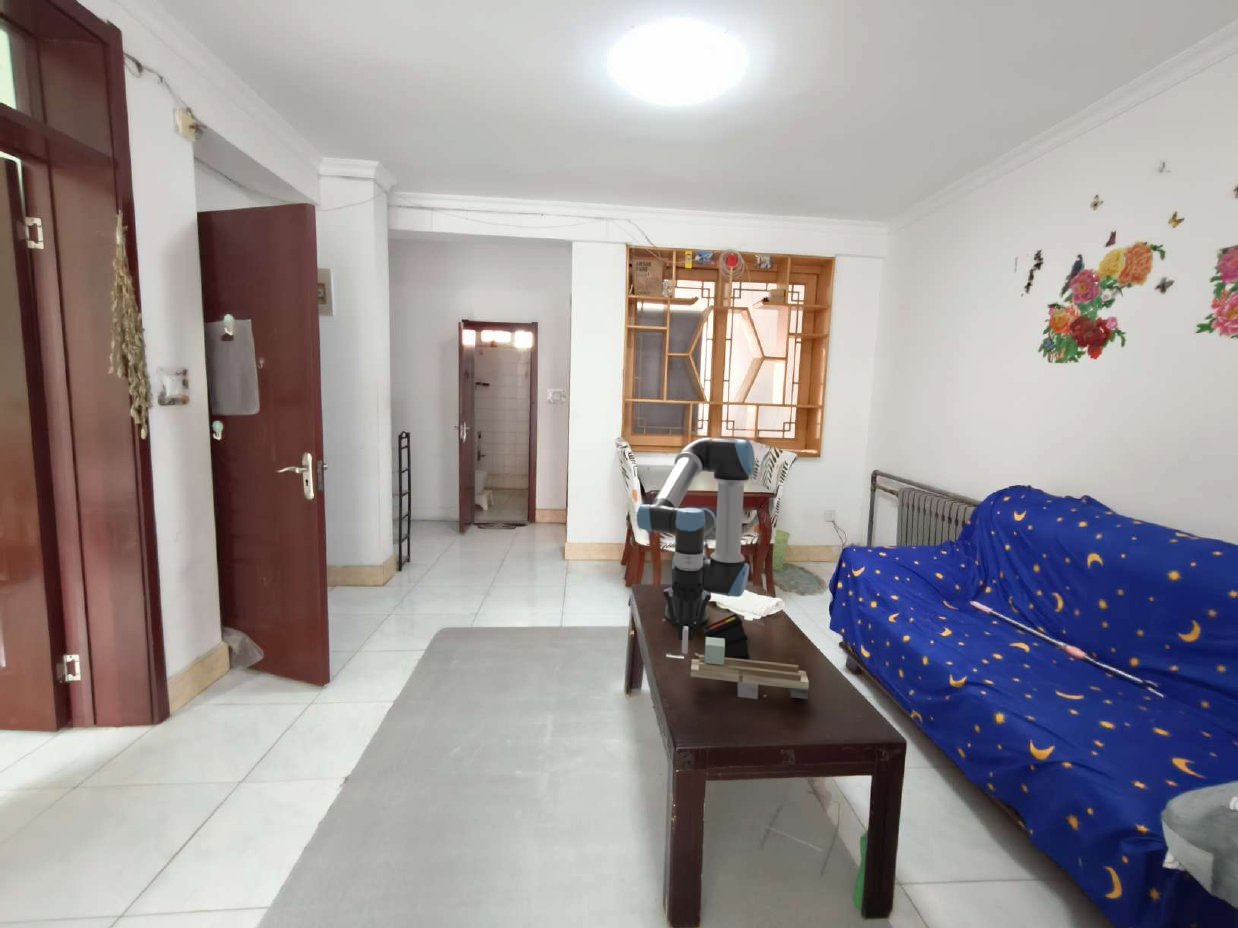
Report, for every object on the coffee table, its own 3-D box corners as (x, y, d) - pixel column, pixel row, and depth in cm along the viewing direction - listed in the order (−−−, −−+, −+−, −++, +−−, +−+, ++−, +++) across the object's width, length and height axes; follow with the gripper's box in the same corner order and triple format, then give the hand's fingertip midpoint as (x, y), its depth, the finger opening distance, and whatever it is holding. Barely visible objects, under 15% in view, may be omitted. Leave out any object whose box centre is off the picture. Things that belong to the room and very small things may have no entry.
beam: (691, 679, 151) (692, 653, 150) (803, 692, 145) (805, 665, 144) (689, 690, 144) (691, 663, 143) (807, 705, 139) (809, 676, 138)
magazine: (759, 662, 158) (740, 617, 156) (718, 680, 158) (698, 635, 156) (756, 656, 162) (737, 612, 160) (715, 673, 162) (696, 630, 160)
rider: (704, 661, 149) (705, 636, 148) (723, 663, 148) (724, 638, 147) (704, 669, 144) (705, 644, 143) (723, 671, 143) (724, 646, 142)
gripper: (662, 568, 142) (659, 654, 144) (713, 572, 139) (708, 660, 142) (665, 560, 149) (662, 642, 152) (713, 564, 147) (709, 647, 149)
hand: (684, 651), depth 147 cm, fingers closed
